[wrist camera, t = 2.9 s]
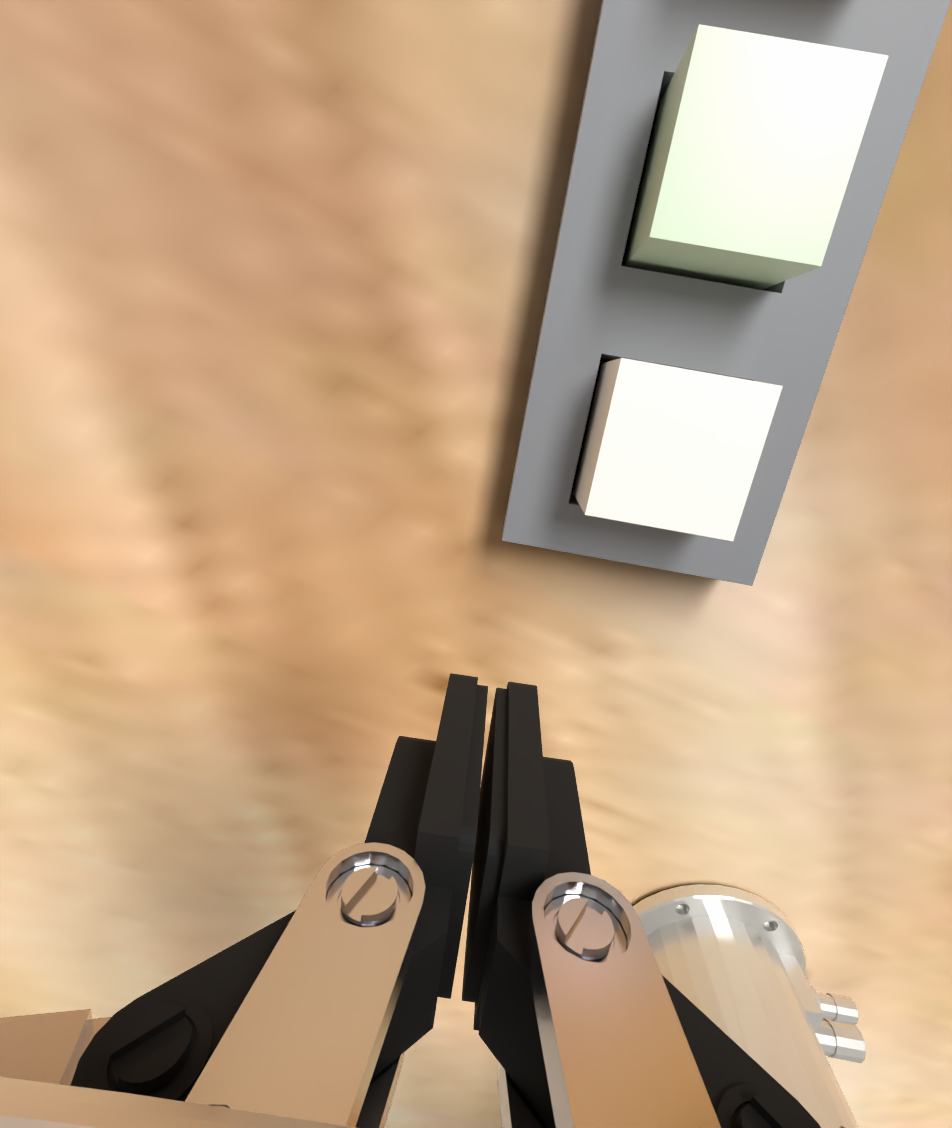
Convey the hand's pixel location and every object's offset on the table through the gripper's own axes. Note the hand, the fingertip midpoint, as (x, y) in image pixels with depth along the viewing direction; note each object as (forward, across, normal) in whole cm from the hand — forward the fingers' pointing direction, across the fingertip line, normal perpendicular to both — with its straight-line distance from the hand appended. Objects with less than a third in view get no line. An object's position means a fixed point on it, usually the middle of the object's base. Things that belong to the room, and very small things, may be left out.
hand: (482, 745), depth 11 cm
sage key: (+18, -7, -15) cm, 24 cm away
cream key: (+18, -6, -5) cm, 20 cm away
